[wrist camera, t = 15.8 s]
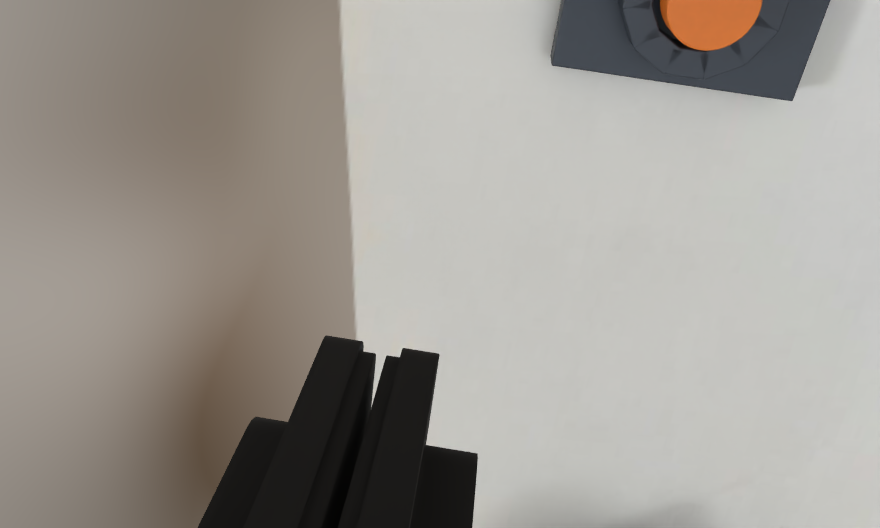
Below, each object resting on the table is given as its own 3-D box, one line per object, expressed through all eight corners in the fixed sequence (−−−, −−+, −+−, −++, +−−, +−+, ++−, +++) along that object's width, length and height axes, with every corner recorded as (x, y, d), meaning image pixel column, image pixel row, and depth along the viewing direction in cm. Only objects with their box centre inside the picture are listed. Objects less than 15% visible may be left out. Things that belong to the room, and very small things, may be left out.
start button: (649, 34, 30) (655, 44, 29) (673, -58, 29) (681, -53, 27) (734, 47, 30) (745, 57, 29) (764, -44, 28) (777, -39, 27)
